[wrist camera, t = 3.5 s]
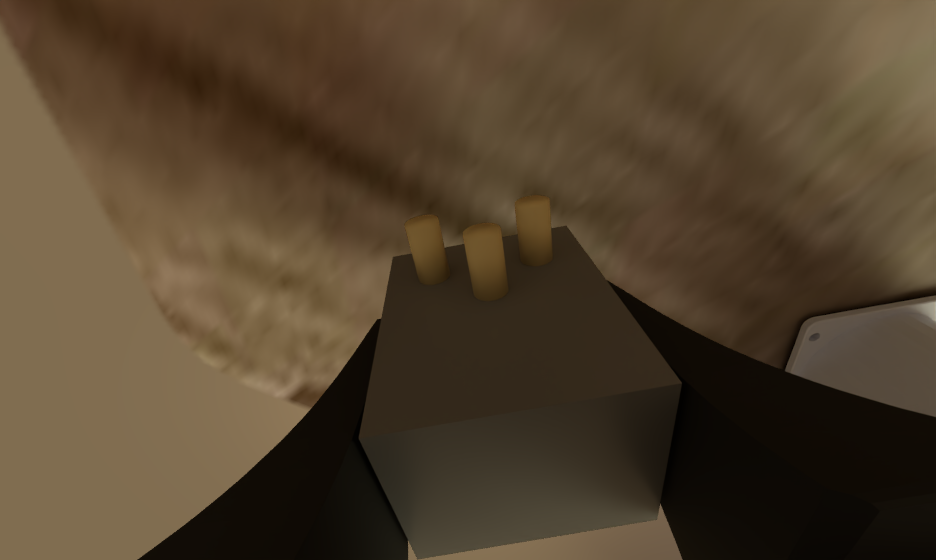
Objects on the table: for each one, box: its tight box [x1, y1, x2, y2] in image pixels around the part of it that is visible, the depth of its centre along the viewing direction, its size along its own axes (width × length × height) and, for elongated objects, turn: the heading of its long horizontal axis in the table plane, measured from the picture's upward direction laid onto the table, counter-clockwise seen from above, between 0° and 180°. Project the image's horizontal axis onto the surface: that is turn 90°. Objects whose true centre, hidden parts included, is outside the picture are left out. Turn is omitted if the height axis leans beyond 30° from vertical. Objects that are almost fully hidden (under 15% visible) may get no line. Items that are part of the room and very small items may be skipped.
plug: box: [359, 195, 682, 559], centre depth 9 cm, size 6×5×6 cm
